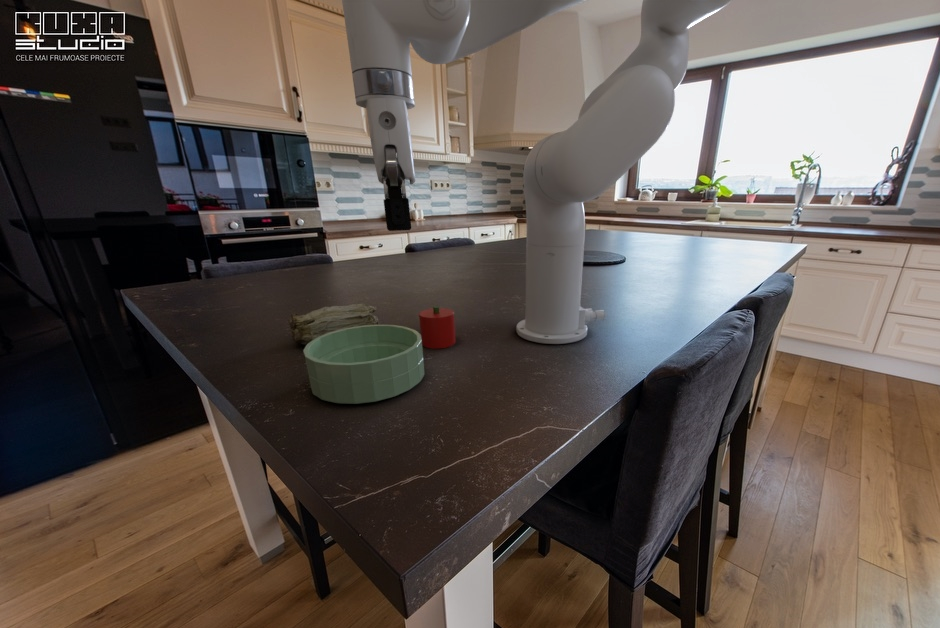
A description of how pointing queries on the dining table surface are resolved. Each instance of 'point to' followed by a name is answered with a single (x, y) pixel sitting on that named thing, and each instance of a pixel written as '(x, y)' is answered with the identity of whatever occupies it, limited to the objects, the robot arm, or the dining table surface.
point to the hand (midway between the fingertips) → (399, 227)
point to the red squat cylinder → (437, 327)
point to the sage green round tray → (364, 363)
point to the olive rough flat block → (330, 321)
